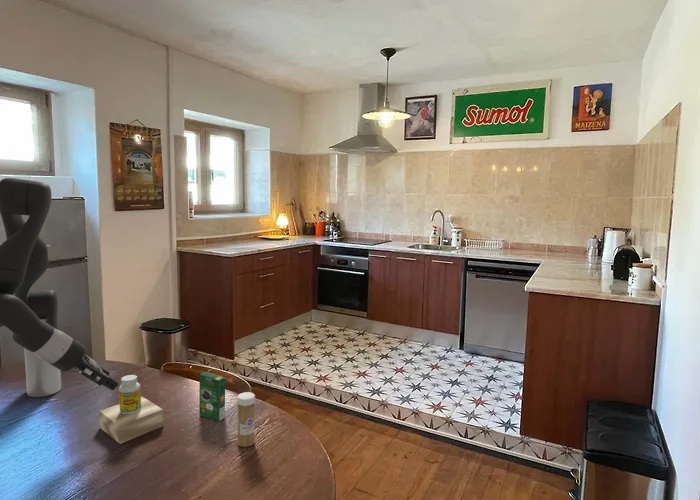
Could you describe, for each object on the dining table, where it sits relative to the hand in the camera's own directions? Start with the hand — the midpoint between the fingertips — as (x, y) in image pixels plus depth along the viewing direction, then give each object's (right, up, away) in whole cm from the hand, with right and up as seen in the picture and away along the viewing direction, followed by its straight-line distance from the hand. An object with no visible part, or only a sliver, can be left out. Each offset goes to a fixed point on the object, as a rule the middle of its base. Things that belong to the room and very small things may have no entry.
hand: (111, 381), depth 121 cm
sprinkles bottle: (+37, -16, -1) cm, 40 cm away
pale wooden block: (+3, -14, +5) cm, 15 cm away
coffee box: (+24, -14, +12) cm, 30 cm away
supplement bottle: (+3, -9, +4) cm, 11 cm away
